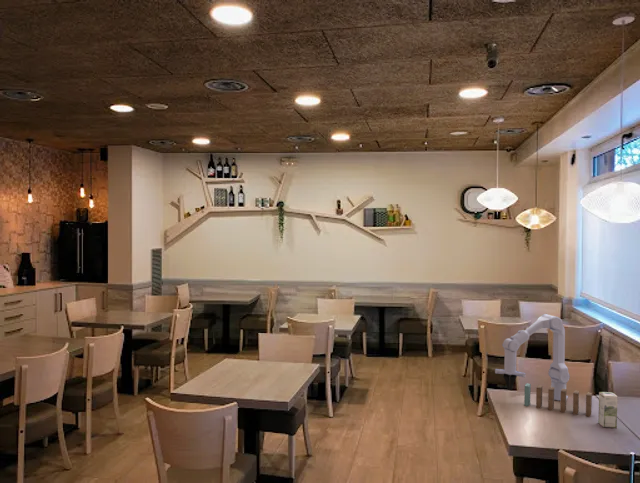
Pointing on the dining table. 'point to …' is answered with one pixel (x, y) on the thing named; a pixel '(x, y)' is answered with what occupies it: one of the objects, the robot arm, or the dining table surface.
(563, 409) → the domino
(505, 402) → the dining table surface
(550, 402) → the domino
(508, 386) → the robot arm
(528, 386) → the domino
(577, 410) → the domino
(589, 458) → the dining table surface
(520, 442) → the dining table surface
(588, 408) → the domino
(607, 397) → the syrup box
